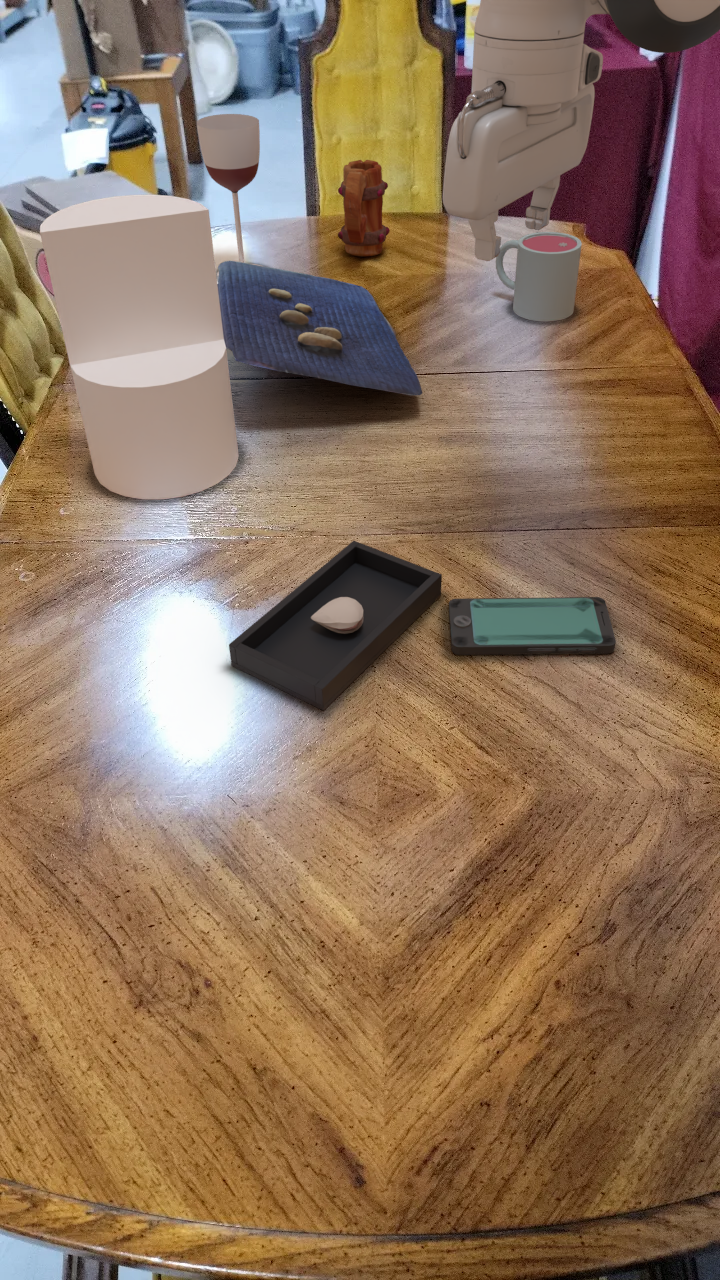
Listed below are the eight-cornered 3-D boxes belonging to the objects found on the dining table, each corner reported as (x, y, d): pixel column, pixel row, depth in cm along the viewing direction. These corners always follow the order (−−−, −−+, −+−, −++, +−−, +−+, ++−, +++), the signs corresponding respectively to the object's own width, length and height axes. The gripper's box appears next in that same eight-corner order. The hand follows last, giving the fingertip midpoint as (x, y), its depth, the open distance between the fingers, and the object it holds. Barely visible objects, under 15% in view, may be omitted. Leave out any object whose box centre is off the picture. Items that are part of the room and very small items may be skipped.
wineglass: (246, 258, 171) (232, 110, 156) (282, 273, 165) (271, 121, 150) (202, 272, 166) (184, 121, 151) (239, 288, 160) (223, 133, 146)
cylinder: (84, 441, 124) (31, 207, 105) (219, 415, 128) (190, 186, 110) (106, 512, 111) (49, 261, 93) (255, 481, 115) (229, 235, 97)
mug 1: (347, 242, 176) (344, 150, 166) (392, 244, 174) (392, 152, 165) (328, 272, 165) (324, 176, 155) (376, 275, 164) (375, 178, 154)
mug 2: (585, 307, 152) (593, 240, 145) (551, 326, 146) (559, 258, 140) (511, 286, 159) (516, 221, 152) (476, 304, 153) (480, 238, 147)
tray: (441, 595, 98) (442, 574, 97) (323, 711, 86) (322, 689, 85) (354, 560, 103) (353, 540, 101) (231, 665, 91) (228, 644, 89)
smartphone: (448, 596, 96) (604, 595, 96) (448, 606, 97) (602, 605, 97) (452, 646, 91) (617, 645, 90) (452, 657, 91) (615, 655, 91)
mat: (194, 317, 158) (205, 243, 151) (359, 347, 165) (376, 278, 159) (210, 437, 122) (225, 348, 116) (419, 469, 130) (444, 386, 124)
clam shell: (366, 638, 93) (365, 617, 91) (312, 642, 92) (311, 622, 91) (361, 609, 96) (360, 589, 94) (310, 613, 96) (308, 593, 94)
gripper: (497, 102, 74) (486, 285, 83) (612, 53, 87) (591, 217, 96) (426, 92, 77) (422, 271, 86) (547, 46, 89) (533, 206, 98)
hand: (512, 242), depth 91 cm, fingers open, 8 cm apart
